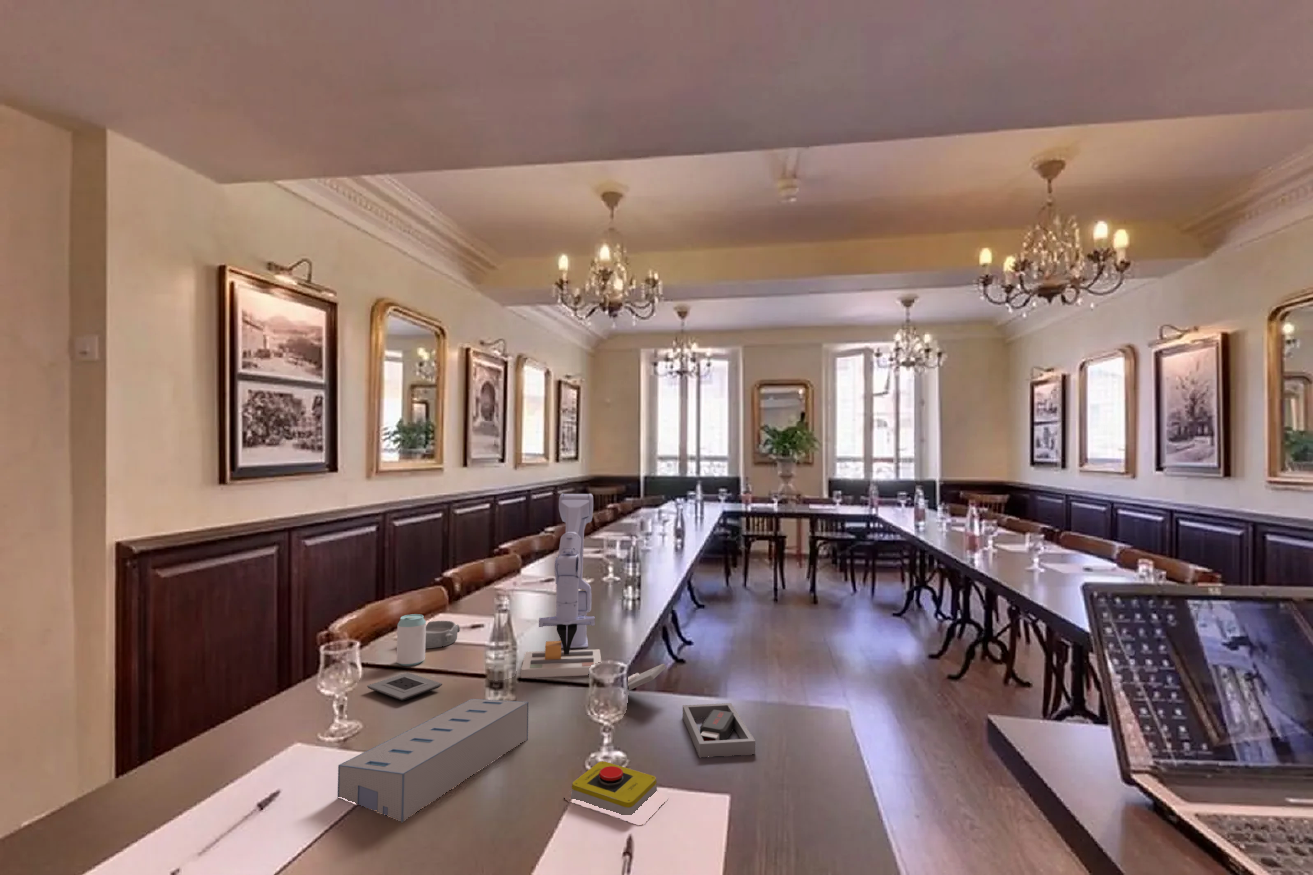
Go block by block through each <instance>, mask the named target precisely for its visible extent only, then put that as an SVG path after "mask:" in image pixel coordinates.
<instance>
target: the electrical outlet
mask: <svg viewBox="0 0 1313 875" xmlns="http://www.w3.org/2000/svg"><path fill="white" fill-rule="evenodd" d="M442 685H443V683H442V682H438V681H436V680H433V679H431V678H426V677H423V676H420V675H417V674H413V673H411V672H405V673H402V674H399V675H395V676H392V677H389V678H387V679H383V680H380V681H377V682H374V683H372V684H368V685H366V687H367V688H368V689H370V690H371V691H375V692H377V693H380V694H382V695H385V696H388V697H390V698H392V699H396V700H398V701H401V702H403V701H407V700H408V699H412V698H415V697H417V696H419V695H423V694H425V693H428V692H431V691H434V690H436V689H439V688H440V687H441V686H442Z"/></svg>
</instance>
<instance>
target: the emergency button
mask: <svg viewBox="0 0 1313 875" xmlns="http://www.w3.org/2000/svg"><path fill="white" fill-rule="evenodd" d="M657 784H658V782H657V777H656V776H655V775H652V774H648V773H645V772H641V771H639V770H635V769H632V768H629V767H628V768H627V767H625V766H622V765H620V764H619V765H618V764H616V763H612V762H609V761H605V760H602V761H599V762H597V763H596V764H594V765H592V767H590V768H589V769H588V770H587V771H586V772H584V773H583V774H581V775H580V776H579V777H577V778H576V779H575V780H573V781H572V783H571V790H572V792H571V799H576V800H580V801H584V802H586V803H589V804H592V805H594V806H598V807H599V808H603V809H606V810H610V811H613V812H616V813H619V814H621V815H632V814H633V813H635V811H636V810H638V808H639V807H640V806H642V804H643V803H644V802H645V801H647V800H648V798H649V797H651V796H652V795H653V794H654V793H655V792H656V791H657V792H658V787H657Z"/></svg>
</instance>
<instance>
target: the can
mask: <svg viewBox="0 0 1313 875" xmlns="http://www.w3.org/2000/svg"><path fill="white" fill-rule="evenodd" d="M426 625H427V621H426V619H425V618H424V615H423V614H418V613H414V614H413V613H412V614H405V615H402V616H401V617H400V619H399V621H398V623H397V632H396V663H397V664H399V665H400V666H406V667H407V666H416V665H419V664H421V663H422V662H423V661H425V659H426V648H425V643H426Z"/></svg>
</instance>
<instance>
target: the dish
mask: <svg viewBox="0 0 1313 875" xmlns="http://www.w3.org/2000/svg"><path fill="white" fill-rule="evenodd" d="M460 628H461V627H460V625H459V624H456V623H455V622H454V621H451V620H433V621H429V622H427V623H426V643H425V649H435V648H436V649H437V648H441V647H442V646H443V647H446V646H447V647H448V646H450V645H451V644H454V641H455V642H456V641H457V639H458V633H460V632H461V629H460Z"/></svg>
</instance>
